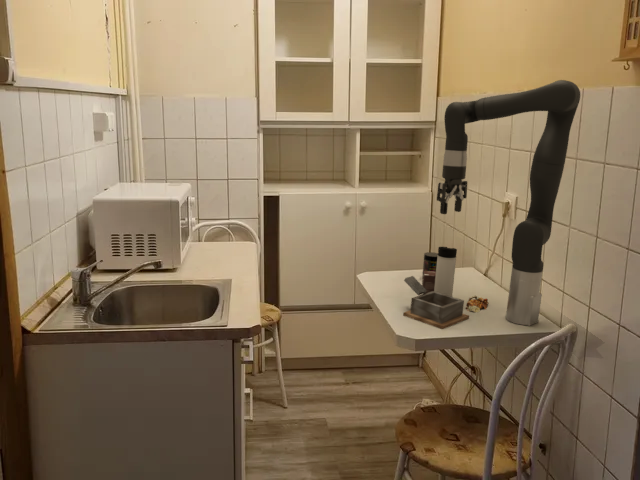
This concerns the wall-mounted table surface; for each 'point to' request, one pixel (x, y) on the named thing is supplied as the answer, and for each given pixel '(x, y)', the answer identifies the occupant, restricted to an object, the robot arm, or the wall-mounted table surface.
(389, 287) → the wall-mounted table surface
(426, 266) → the supplement container
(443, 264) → the travel mug
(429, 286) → the box
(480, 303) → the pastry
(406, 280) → the grey rectangular block
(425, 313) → the grey walled square tray
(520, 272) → the robot arm
